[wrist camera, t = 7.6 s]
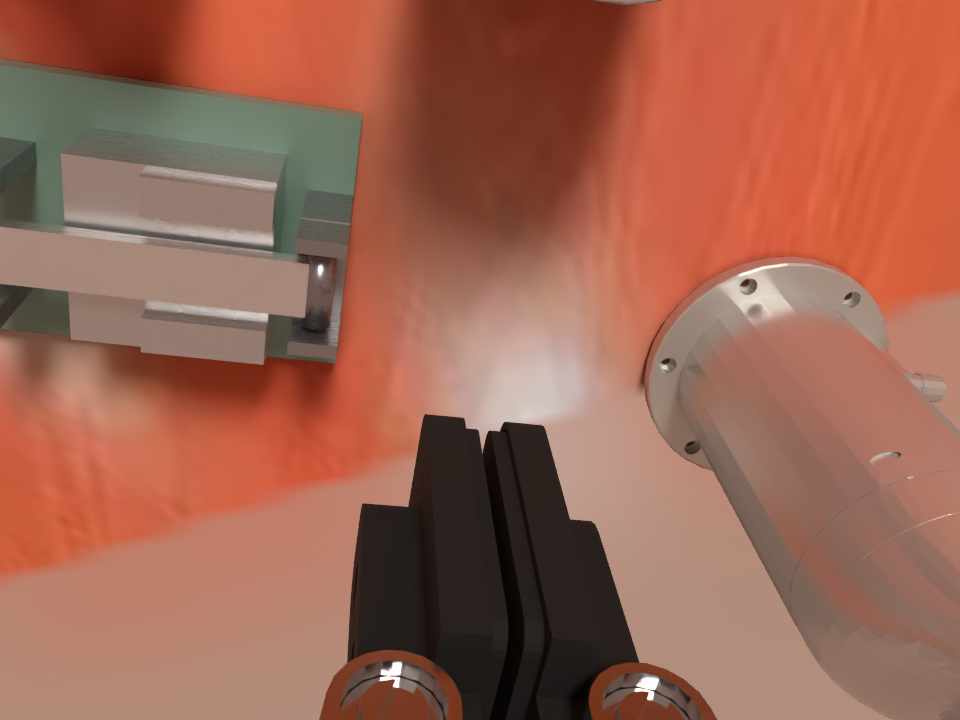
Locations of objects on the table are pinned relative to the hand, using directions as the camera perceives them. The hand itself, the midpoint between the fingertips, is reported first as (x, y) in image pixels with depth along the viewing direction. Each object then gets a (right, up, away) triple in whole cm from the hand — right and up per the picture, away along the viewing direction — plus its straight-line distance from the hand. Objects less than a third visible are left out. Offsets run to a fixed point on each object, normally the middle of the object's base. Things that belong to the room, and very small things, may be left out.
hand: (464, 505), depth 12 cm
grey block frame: (-13, +8, +27) cm, 31 cm away
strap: (-12, +6, +23) cm, 27 cm away
